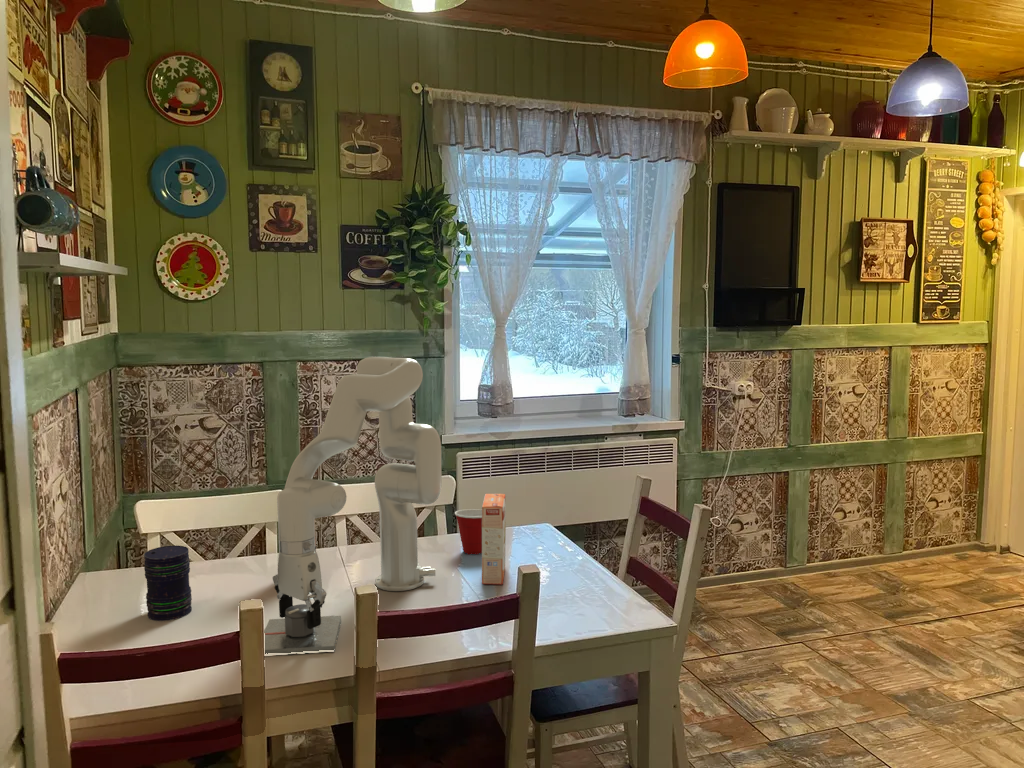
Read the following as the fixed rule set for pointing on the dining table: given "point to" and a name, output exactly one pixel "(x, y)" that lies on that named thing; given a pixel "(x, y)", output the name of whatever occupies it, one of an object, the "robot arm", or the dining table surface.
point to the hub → (302, 637)
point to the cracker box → (493, 538)
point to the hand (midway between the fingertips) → (300, 621)
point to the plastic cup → (470, 530)
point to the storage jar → (167, 583)
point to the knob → (297, 621)
